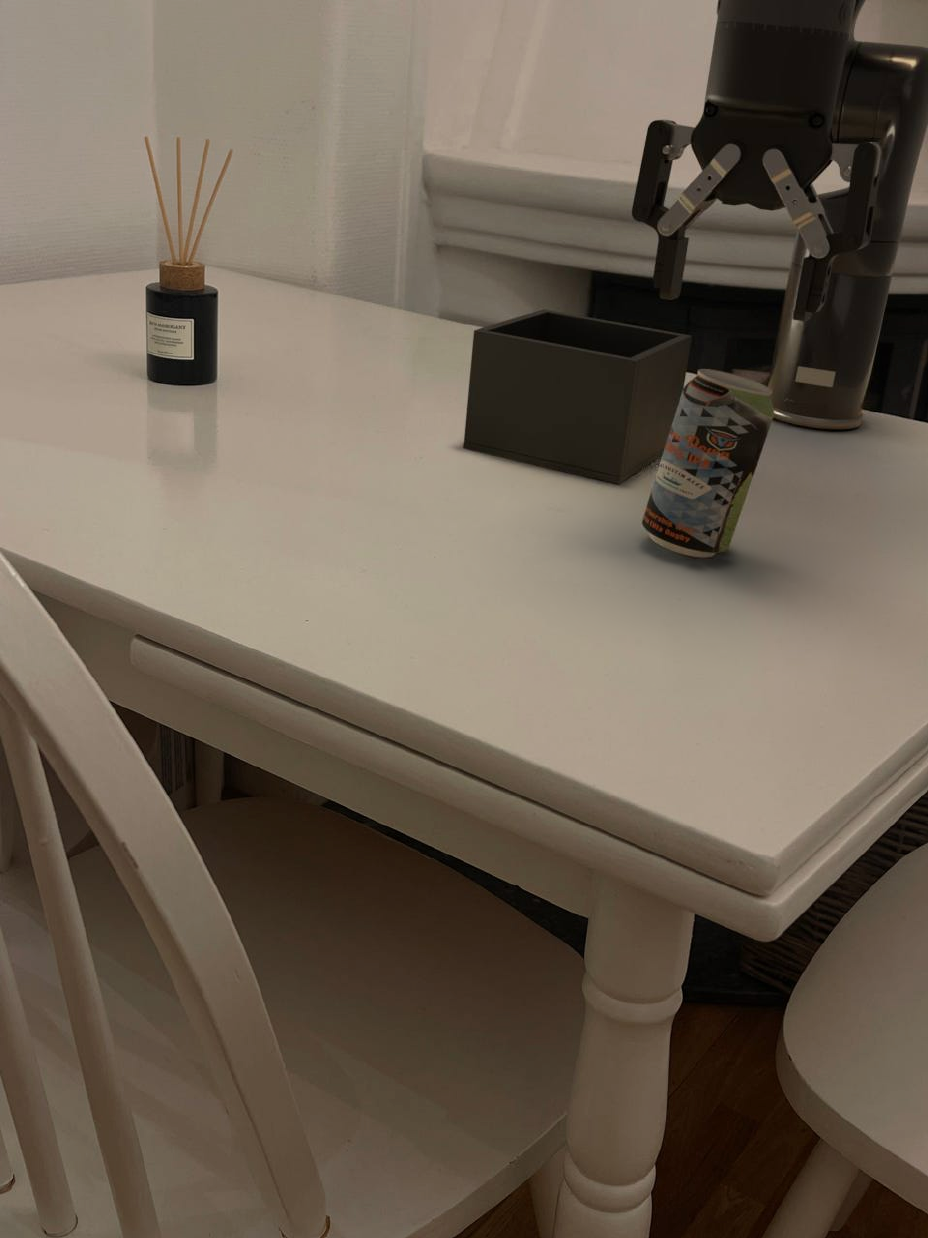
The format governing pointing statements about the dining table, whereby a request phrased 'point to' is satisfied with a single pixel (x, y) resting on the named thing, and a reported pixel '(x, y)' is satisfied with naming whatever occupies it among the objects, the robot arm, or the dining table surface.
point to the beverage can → (708, 463)
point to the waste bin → (574, 393)
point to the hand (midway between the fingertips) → (733, 308)
